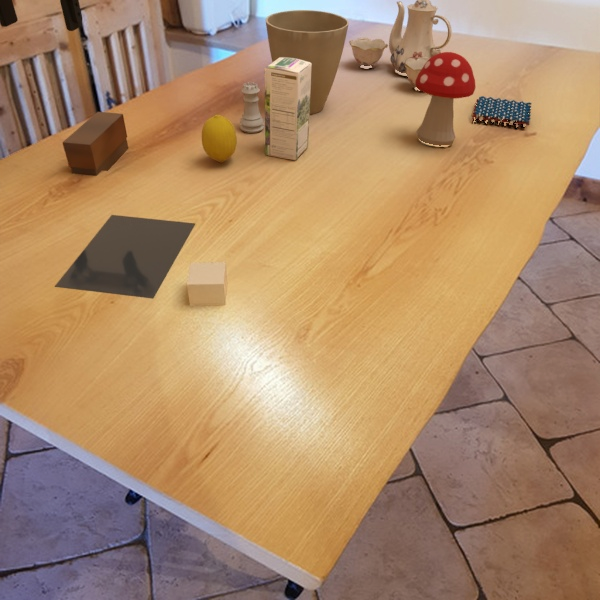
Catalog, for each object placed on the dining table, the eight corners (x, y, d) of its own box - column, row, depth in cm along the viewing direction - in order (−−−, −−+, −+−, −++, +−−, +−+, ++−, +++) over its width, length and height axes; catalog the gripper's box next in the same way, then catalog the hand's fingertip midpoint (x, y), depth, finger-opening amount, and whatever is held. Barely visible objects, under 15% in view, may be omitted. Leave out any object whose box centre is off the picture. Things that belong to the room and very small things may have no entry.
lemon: (214, 173, 87) (210, 124, 82) (198, 160, 90) (192, 112, 85) (244, 164, 90) (241, 116, 84) (227, 152, 93) (223, 105, 88)
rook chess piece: (238, 124, 102) (236, 80, 96) (262, 123, 102) (261, 79, 97) (241, 134, 98) (238, 89, 93) (265, 133, 99) (264, 88, 94)
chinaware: (335, 73, 129) (334, -5, 118) (382, 51, 137) (386, -23, 125) (430, 107, 114) (440, 22, 102) (478, 82, 121) (492, -1, 109)
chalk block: (190, 312, 62) (186, 284, 59) (194, 289, 65) (190, 262, 62) (226, 311, 62) (223, 283, 59) (228, 288, 65) (225, 261, 62)
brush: (99, 181, 84) (90, 144, 80) (72, 178, 85) (62, 142, 81) (129, 148, 93) (123, 113, 89) (105, 145, 94) (97, 111, 90)
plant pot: (266, 122, 102) (264, 30, 92) (267, 94, 114) (266, 9, 103) (346, 123, 103) (353, 31, 93) (339, 94, 114) (344, 10, 104)
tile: (56, 293, 64) (53, 286, 63) (113, 220, 76) (111, 214, 75) (154, 305, 63) (153, 298, 62) (196, 229, 75) (195, 223, 74)
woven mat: (475, 103, 112) (477, 93, 110) (529, 111, 109) (532, 101, 108) (469, 123, 104) (471, 112, 103) (527, 131, 101) (530, 120, 100)
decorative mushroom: (469, 140, 98) (490, 52, 88) (452, 157, 93) (471, 65, 83) (418, 127, 102) (432, 41, 92) (398, 143, 97) (411, 53, 87)
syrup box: (278, 142, 96) (277, 55, 87) (309, 148, 95) (312, 60, 85) (264, 155, 92) (262, 66, 83) (297, 161, 91) (298, 71, 81)
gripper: (-87, -131, 63) (-32, 29, 74) (53, -126, 61) (88, 37, 72) (-46, -133, 69) (0, 16, 80) (83, -129, 67) (112, 23, 78)
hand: (42, 26), depth 76 cm, fingers open, 9 cm apart
